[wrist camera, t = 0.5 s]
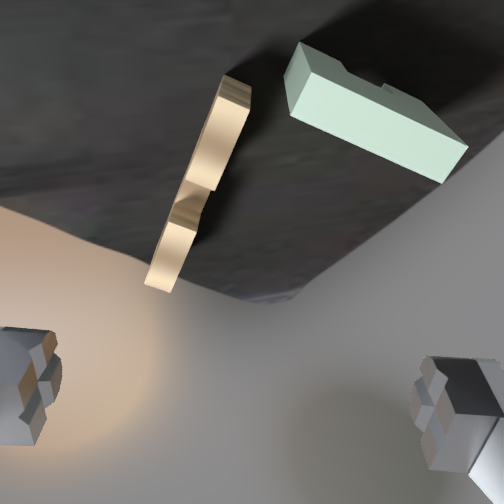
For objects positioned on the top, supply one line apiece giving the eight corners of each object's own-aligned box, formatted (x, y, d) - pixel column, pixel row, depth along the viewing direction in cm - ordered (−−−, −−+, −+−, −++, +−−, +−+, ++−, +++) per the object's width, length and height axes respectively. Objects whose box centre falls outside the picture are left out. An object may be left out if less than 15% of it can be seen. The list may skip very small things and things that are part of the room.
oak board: (223, 74, 48) (218, 95, 41) (251, 86, 48) (250, 110, 42) (157, 244, 59) (144, 283, 52) (180, 253, 59) (170, 292, 53)
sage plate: (299, 41, 46) (311, 72, 35) (421, 101, 49) (468, 146, 38) (283, 76, 48) (290, 115, 37) (402, 131, 51) (441, 183, 40)
